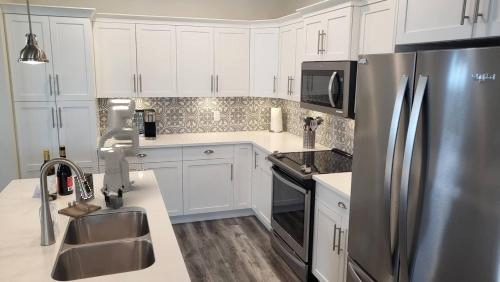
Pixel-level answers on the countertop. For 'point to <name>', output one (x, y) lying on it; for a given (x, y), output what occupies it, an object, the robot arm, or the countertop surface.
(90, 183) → the coffee box
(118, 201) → the dark grey block
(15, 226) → the countertop surface
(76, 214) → the pin tray
